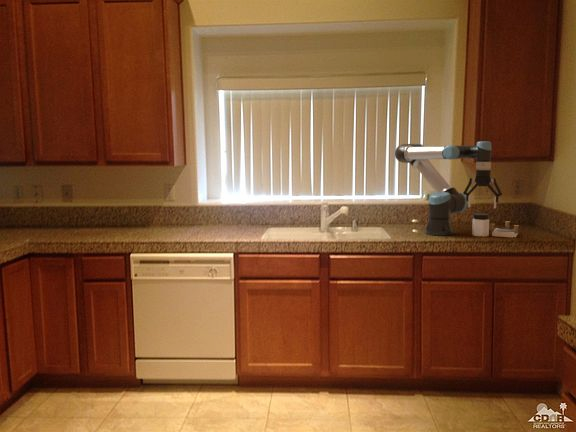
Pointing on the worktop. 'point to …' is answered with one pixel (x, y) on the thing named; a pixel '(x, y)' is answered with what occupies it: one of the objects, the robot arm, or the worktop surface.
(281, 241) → the worktop surface
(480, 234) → the jar
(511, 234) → the cradle board
